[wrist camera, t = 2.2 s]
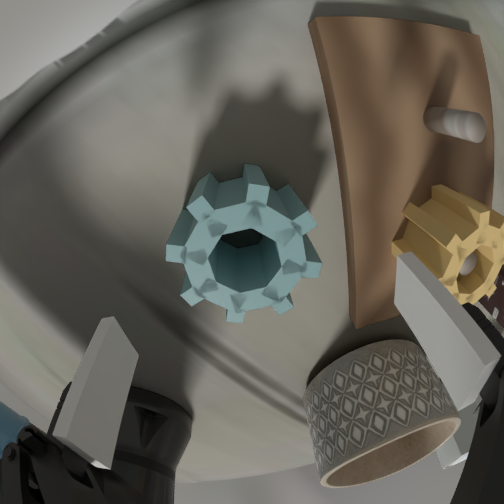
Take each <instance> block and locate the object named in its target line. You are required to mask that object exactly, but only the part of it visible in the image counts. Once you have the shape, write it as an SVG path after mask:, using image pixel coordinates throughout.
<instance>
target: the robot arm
mask: <svg viewBox="0 0 504 504" xmlns="http://www.w3.org/2000/svg"><path fill="white" fill-rule="evenodd" d="M394 304H395V306H396V307H397V309H398V310H399V312H400V313H401V315H402V316H403V318H404V319H405V321H406V322H407V324H408V326H409V327H410V329H411V330H412V332H413V333H414V335H415V337H416V338H417V340H418V341H419V343H420V345H421V346H422V348H423V350H424V351H425V353H426V354H427V356H428V358H429V359H430V361H431V363H432V365H433V366H434V368H435V370H436V371H437V373H438V375H439V377H440V378H441V380H442V382H443V384H444V386H445V387H446V389H447V391H448V393H449V395H450V397H451V398H452V400H453V402H454V404H455V406H456V408H457V410H458V411H459V410H461V409H463V408H465V407H467V406H468V405H470V404H472V403H474V401H475V399H476V398H477V396H478V395H479V394H480V396H481V397H482V401H481V402H480V404H479V405H478V407H477V408H476V409H475V411H474V414H473V415H476V414H477V412H478V411H479V413H478V418H477V423H476V427H475V431H474V435H473V439H472V443H471V446H470V450H469V453H468V456H467V460H466V463H465V466H464V469H463V472H462V475H461V478H460V480H459V483H458V485H457V488H456V491H455V493H454V496H453V498H452V500H451V503H450V504H504V338H503V337H502V336H501V334H500V333H499V332H498V331H497V329H496V328H495V327H494V326H492V323H491V322H490V321H489V320H488V319H486V316H485V315H484V314H483V313H482V312H481V310H480V309H479V308H478V307H476V306H474V305H473V304H471V303H469V302H467V303H465V304H462V305H461V304H460V303H459V302H458V301H457V300H456V299H455V297H454V296H453V295H452V294H451V293H450V292H449V291H448V289H447V288H446V287H445V286H444V285H443V284H442V283H441V282H440V281H439V280H438V279H437V277H436V276H435V275H434V274H433V273H432V272H431V271H430V270H429V269H428V268H427V267H426V266H425V265H424V264H423V263H422V262H421V261H420V260H419V259H418V258H417V257H416V256H415V255H414V254H413V253H412V252H407V253H404V254H400V255H397V268H396V284H395V296H394ZM138 358H139V355H138V353H137V352H136V350H135V349H134V347H133V346H132V344H131V343H130V341H129V340H128V338H127V336H126V335H125V333H124V332H123V330H122V328H121V327H120V325H119V324H118V322H117V320H116V319H115V317H114V316H113V317H107V318H102V319H101V321H100V323H99V325H98V327H97V329H96V331H95V333H94V335H93V337H92V339H91V341H90V343H89V346H88V348H87V350H86V352H85V354H84V356H83V359H82V361H81V363H80V365H79V368H78V370H77V372H76V375H75V377H74V379H73V382H70V383H69V384H68V385H67V387H66V388H65V389H64V391H63V393H62V395H61V398H60V402H59V403H58V405H57V409H56V411H55V413H54V416H53V418H52V421H51V424H50V427H49V429H48V432H47V434H46V433H45V432H43V431H42V430H40V429H39V428H37V427H36V426H34V425H33V424H31V423H30V422H29V420H28V419H27V418H26V417H24V416H21V415H19V414H18V413H16V412H15V411H13V410H12V409H11V408H9V407H8V406H6V405H5V404H4V403H2V402H1V401H0V504H174V489H175V488H174V487H175V472H176V467H177V465H178V463H179V461H180V459H181V457H182V455H183V453H184V451H185V449H186V447H187V444H188V442H189V440H190V438H191V429H192V421H191V418H190V416H189V415H188V413H187V412H186V411H185V410H184V409H182V408H181V407H180V406H179V405H177V404H176V403H174V402H172V401H170V400H168V399H166V398H164V397H162V396H160V395H157V394H155V393H152V392H149V391H146V390H142V389H138V388H133V387H130V385H131V382H132V378H133V375H134V371H135V368H136V364H137V361H138Z"/></svg>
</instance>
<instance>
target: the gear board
mask: <svg viewBox="0 0 504 504" xmlns="http://www.w3.org/2000/svg"><path fill="white" fill-rule="evenodd" d="M308 27H309V31H310V35H311V38H312V42H313V46H314V50H315V54H316V58H317V62H318V66H319V70H320V74H321V79H322V83H323V88H324V92H325V97H326V102H327V107H328V112H329V118H330V123H331V129H332V134H333V140H334V147H335V153H336V160H337V166H338V174H339V181H340V189H341V198H342V206H343V216H344V226H345V238H346V251H347V266H348V286H349V316H350V318H351V320H352V322H353V324H354V326H355V328H356V329H358V328H361V327H365V326H368V325H371V324H374V323H378V322H381V321H384V320H387V319H390V318H393V317H396V316H399V315H401V313H400V312H399V310H398V309H397V307H396V306H395V304H394V296H395V284H396V268H397V258H396V257H395V256H394V255H393V254H392V241H395V240H399V239H402V238H403V235H404V233H405V230H406V227H407V224H408V221H409V219H408V218H407V217H406V216H405V215H404V214H402V212H403V210H404V209H405V207H406V206H407V205H408V203H409V202H411V203H412V204H414V205H415V206H417V207H418V208H419V207H420V206H421V205H423V204H424V203H426V202H427V201H428V200H430V199H431V198H432V186H434V185H440V184H442V185H444V186H446V187H448V188H450V189H452V190H454V191H456V192H457V193H459V192H462V193H464V194H465V195H467V196H469V197H471V198H473V199H475V200H477V201H478V202H480V203H482V204H484V205H485V206H487V207H489V208H491V209H492V198H493V182H494V130H493V115H492V104H491V95H490V87H489V81H488V74H487V69H486V63H485V58H484V54H483V49H482V45H481V41H480V37H479V35H475V34H472V33H468V32H464V31H460V30H456V29H452V28H447V27H443V26H438V25H433V24H427V23H421V22H414V21H407V20H399V19H389V18H377V17H355V16H328V17H315V18H314V19H313V20H312V21H311V22H310V23H309V24H308ZM476 263H477V254H476V253H475V252H474V251H473V252H472V253H471V254H469V255H468V256H467V257H466V258H465V260H464V263H463V265H462V267H461V269H460V272H459V273H460V274H461V275H467V274H469V273H470V272H471V271H472V270H473V269H474V267H475V265H476Z"/></svg>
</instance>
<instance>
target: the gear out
mask: <svg viewBox="0 0 504 504" xmlns="http://www.w3.org/2000/svg"><path fill="white" fill-rule="evenodd" d="M402 214H404V215H405V216H406V217H407V218H408V219H409V221H408V224H407V227H406V230H405V233H404V235H403V238H402V239H399V240H395V241H392V254H393V255H394V256H395V257H396V258H397V255H400V254H404V253H407V252H412V253H413V254H414V255H415V256H416V257H417V258H418V259H419V260H420V261H421V262H422V263H423V264H424V265H425V266H426V267H427V268H428V269H429V270H430V271H431V272H432V273H433V274H434V275H435V276H436V277H437V279H438V280H439V281H440V282H441V283H442V284H443V285H444V286H445V287H446V288H447V289H448V291H449V292H450V293H451V294H452V295H453V296H454V297H455V299H456V300H457V301H458V302H459V303H460V304H461V305H462V304H465V303H467V302H469V303H471V304H474V303H476V302H477V301H478V300H479V299H480V298H481V297H483V296H484V295H485V294H486V295H487V296H488V297H489V298H490V296H491V295H492V294H493V292H494V291H495V290H496V288H497V287H496V286H495V285H494V282H495V279H496V277H497V275H498V273H499V271H500V269H501V267H502V265H503V264H504V216H502V215H501V214H499V213H497V212H496V211H494V210H492V209H491V208H489V207H487V206H485V205H484V204H482V203H480V202H478V201H477V200H475V199H473V198H471V197H469V196H467V195H465V194H464V193H462V192H459V193H457V192H456V191H454V190H452V189H450V188H448V187H446V186H444V185H442V184H440V185H434V186H432V198H431V199H430V200H428V201H427V202H426V203H424V204H423V205H421V206H420V207H419V208H418V207H417V206H415V205H414V204H412V203H411V202H409V203H408V205H407V206H406V207H405V209H404V210H403V212H402ZM473 251H474V252H475V253H476V254H477V263H476V265H475V267H474V269H473V270H472V271H471V272H470V273H469V274H467V275H461V274H460V273H459V272H460V269H461V267H462V265H463V263H464V260H465V258H466V257H467V256H468V255H469V254H471V253H472V252H473Z"/></svg>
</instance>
